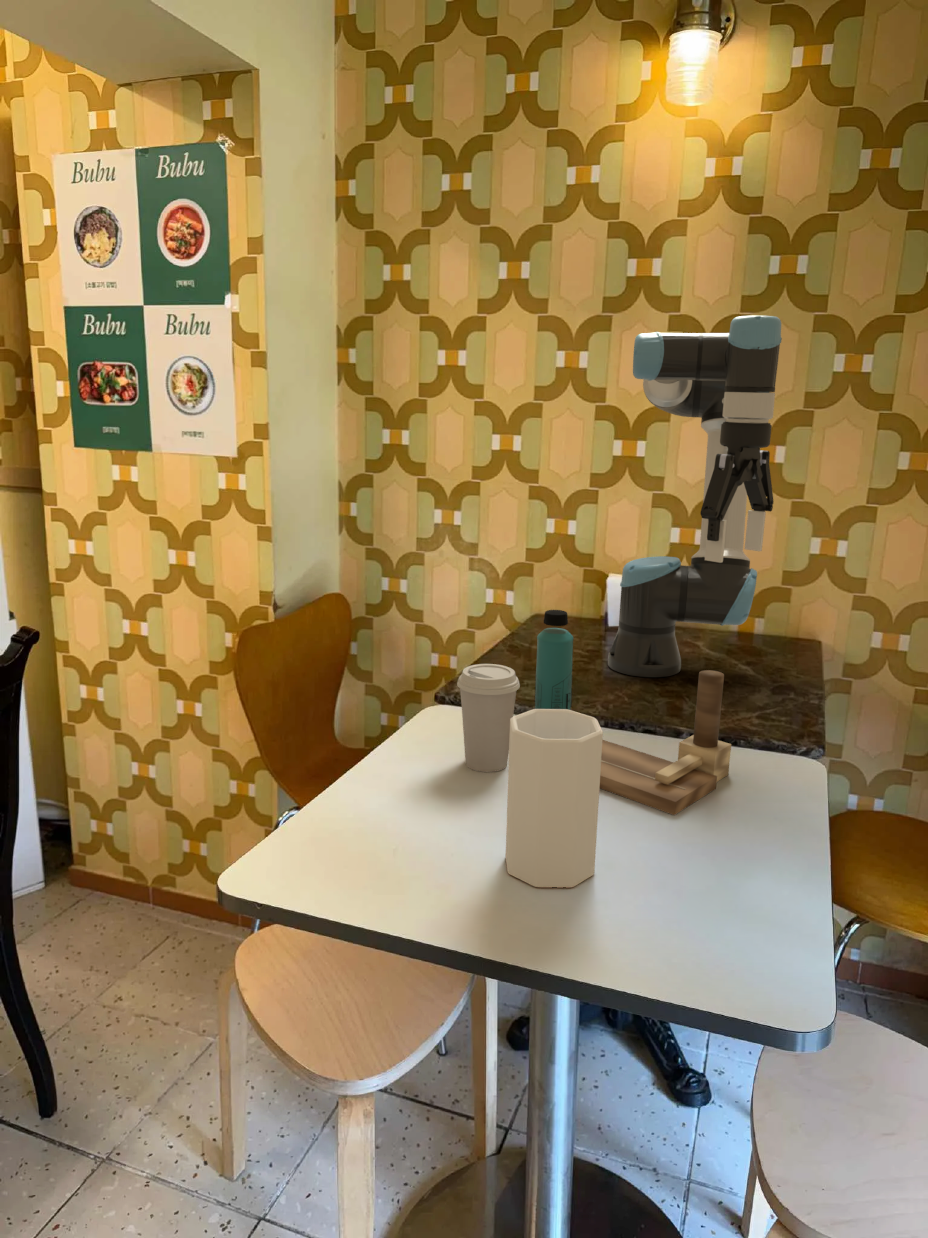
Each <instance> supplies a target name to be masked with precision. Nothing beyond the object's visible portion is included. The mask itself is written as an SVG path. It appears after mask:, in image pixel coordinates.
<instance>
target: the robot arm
mask: <svg viewBox="0 0 928 1238" xmlns="http://www.w3.org/2000/svg"><path fill="white" fill-rule="evenodd" d="M782 339H783V338H782V320H781V319H780V318H779V317H778V316H776V315H775V316H774V315H741V316H736V317H734V318H733V319H732V320H731V321H730V327H729V332H698V333H696V332H692V333H691V332H689V333H688V332H684V333H683V332H660V331H654V332H647V333H646V332H644V333H643V332H641V333H639V334H637V335H636V336H635V338H634V344H633V357H632V358H633V359H632V375H633V377H634V378H635V379H637V380H643V381H642V387H643V392H644V395H645V397H646V399H647V401H648V402H649V403H650V404H652V405H653V406H654V407H656V408H658V410H661V411H663V412H666V413H668V414H671V415H674V416H678V417H684V418H700V419H701V421H700V423H701V424H700V427H701V429H703V431H704V432H706V434H707V442H706V443H707V444H706V445H707V446H706V458H705V470H704V473H705V474H704V485H703V499H702V506H701V509H700V516H701V526H700V541H699V549H698V550H697V552H696V553H694V554H693V555H692V556H691V558H690V559H691V561H690V565H681V564H682V562H681V560H680V558H678V557H677V556H668V555H667V556H662V555H660V556H648V557H641V558H637V559H633V560H631V561H628V562H626V564H625V565H623V568H622V574H621V582H620V585H619V586H620V589H621V590H620V599H619V600H620V603H619V615H618V630H617V632H616V635H615V637H614V639H613V643H612V645H611V647H610V650H609V651H608V656H607V665H608V667H609V669H611V670H613V671H615V672H617V673H621V674H624V675H628V676H633V677H641V678H664V677H670V676H674V675H676V674H678V673H679V672H680V671H681V667H682V657H681V655H680V650H679V646H678V642H677V638H676V622H682V623H691V624H692V623H693V624H705V625H706V624H708V625H718V626H740V625H743V624H744V623H745V622H746V621H747V620H748V617H749V615H750V611H751V610H752V605H753V600H754V596H755V592H756V591H755V590H756V586H757V579H758V571H757V570H756V569H754V568H752V567H751V559H750V558H749V557H748V556H747V555H746V554H745V552H744V550H746V551H748V550H749V551H755V552H762V551H763V543H764V534H765V533H764V532H765V524H766V523H765V522H766V512H772V511H773V509H774V508H773V507H774V506H773V505H774V501H775V500H774V494H773V486H772V478H771V477H772V475H771V468H770V455H771V452H770V450H765V448H767V447H769V446H771V445H770V444H771V436H772V428H773V426H772V425H771V423H770V422H769V420H772V419H773V418H774V411H775V410H774V408H775V399H776V398H775V397H776V381H777V373H778V365H779V355H780V346H781V344H782ZM762 448H763V449H764V450H761V449H762ZM747 501H748V502H749V504H750V508H751V509H749V510H747ZM746 513H747V514H746ZM746 515H747V518H746ZM745 530H746V531H745ZM750 567H751V568H750Z"/></svg>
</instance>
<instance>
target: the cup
mask: <svg viewBox="0 0 928 1238" xmlns="http://www.w3.org/2000/svg"><path fill="white" fill-rule="evenodd" d="M603 734H604V731H603V730H602V728H601V725H600V723H599V720H598V719H597V718H596V717H594V716H591V715H588V714H584V713H582V712H581V713H580V712H577V711H574V710H572V709H571V710H568V709H535V708H532V709H530V710H528V711H524V712H522V713H519V714H516V715H513V717H512V718H511V719H510V738H509V754H508V769H507V771H508V774H507V777H508V778H507V805H506V828H505V829H506V834H505V838H506V839H505V861H506V870H507V873H508V874H509V875H510V876H513V877H515V878H517V880H518V879H519V880H520V881H522V882H524V883H526V884H529V885H530V886H532V887H535V888H552V887H557V888H563V887H566V888H568V889H569V888H574V887H576V886H577V885H579V884H580V883H582V882H583V881H585V880H587V879H589V878H590V877H592V876H594V874H595V867H596V853H597V851H596V850H597V835H598V820H599V819H598V818H599V803H600V802H599V801H600V800H599V799H600V771H601V754H602V740H603V737H604V736H603ZM563 889H564V888H563Z"/></svg>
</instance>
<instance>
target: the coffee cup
mask: <svg viewBox="0 0 928 1238" xmlns="http://www.w3.org/2000/svg"><path fill="white" fill-rule="evenodd" d="M456 685H457V687H458V688H459V691H460V701H461V716H462V727H463V728H462V730H463V732H462V733H463V746H464V758H465V759H464V761H465V762H464V763H465V766H466V767H467V768H469V769H470V770H472V771H476V772H481V773H495V772H500V771H502V770H504V769H506V768H507V767H508V764H509V738H510V719H511V718H512V717H514V714H515V705H516V695H517V690H519V689H520V686H521V684H520V680H519V678H518V676H517V675H516V671H515V670H514V669H513V668H511V667H510V666H509V667H508V666H506V665H502V664H498V663H497V664H495V663H494V664H493V663H479V664H478V663H477V664H472V665H469V666H468V665H467V667H464V668H463V670H462V673H461V674H460V675H459V677H458V679H457V683H456Z"/></svg>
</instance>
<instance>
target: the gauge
mask: <svg viewBox="0 0 928 1238" xmlns="http://www.w3.org/2000/svg"><path fill="white" fill-rule="evenodd" d="M724 680H725V674H724V673H722V672H721V671H718V670H712V669H710V670H709V669H708V670H707V669H706V670H705V669H704V670H701V671H699V673H698V681H697V682H698V683H697V692H696V693H697V694H696V703H695V704H696V705H695V713H694V714H695V716H694V718H695V719H694V727H693V734H692V735H691V736H688V737H687V738H685V739H683V740H681V741H679V743H678V754H677V755H678V756H677V760H675V761H673V762H674V763H672V764H670V765H669V766H667V767H665V768H663V769H661V770H660V771H658V772H656V775H655V781H658V782H661V783H664V784H667V785H668V784H669V783H671V782H673V781H675V780H676V779H678V778H680V777H681V776H683V775H685V774H687V773H688V772H690V771H692V770H693V769H696V770H699V771H702V772H705V773H709V774H712V775H715V776H717V782H716V783H718V782H719V781H721V780H722V779H723V778H725V777H727V776H729V773H730V761H731V751H732V744H731V743H730V742H729V743H728V742H727V741H726V742H725V741H722V740H719V734H720V723H721V712H722V704H723V703H722V702H723V700H722V699H723V690H724Z"/></svg>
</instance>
